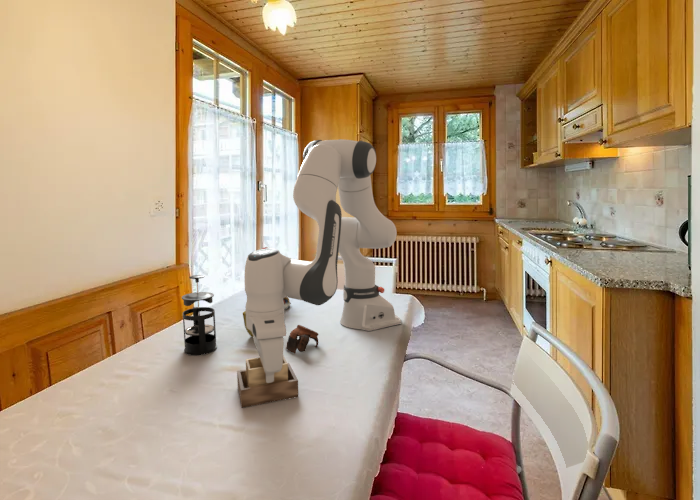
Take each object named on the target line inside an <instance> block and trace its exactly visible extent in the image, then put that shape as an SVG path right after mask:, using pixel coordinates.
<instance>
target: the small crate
mask: <svg viewBox="0 0 700 500" xmlns="http://www.w3.org/2000/svg"><path fill="white" fill-rule="evenodd" d="M288 363H289V362H288V361H287V360H286V358H285V356H284V355H283V365H282V369H281V371H280V372H275V373H274V381H273V382H271V383H277V382H283V381H288ZM245 370H246V381H247V385H248V387H254V386H260V385H266V384H271V383H267V382H266V380H265V371H264V368H263V365H262V363H261V360H260V357H259V356H258V357H254V358H246V359H245Z"/></svg>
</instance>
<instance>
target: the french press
mask: <svg viewBox="0 0 700 500" xmlns="http://www.w3.org/2000/svg"><path fill="white" fill-rule="evenodd" d="M203 278H205V275H203V274H196V275H191V276H189V279H193V280H195V283H196V292H191V293H185V294H184V295H182V296H181V300H183V306H185V307H190V306H192V305H193V304H195V303H196V302H197V306H193V307H191V308H188V309H186V310H184V311H183V312H182V324H183V326H182V327H183V339H184V340H183V342H184V350H183V351H184V352H183V353H184V354H185V355H188V356H194V357H195V356H204V355H205V356H206V355H208V354H211V353H213V352H215V351H216V350H217V348H218V345H217V333H216V314H215V313H216V312H215V311H216V310H215V309H214V308H213V307H207V306H200V301H203V302H207V303H208V304H212V303H213V300H214V299H213V298H214V296H215V294H214V293H213V292H207V291H199V283H200V280H199V279H203ZM201 312H209V313H207V314H202V315H201ZM189 314H192V315H189ZM211 318H213V320H212V321H213V325H212V324H206V323H205V322H206V320H208V319H211ZM185 321H191V322H192V321H193V326H190V327H187V328H186V325H185ZM212 333H213V334H212ZM186 335H187V337H186Z"/></svg>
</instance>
